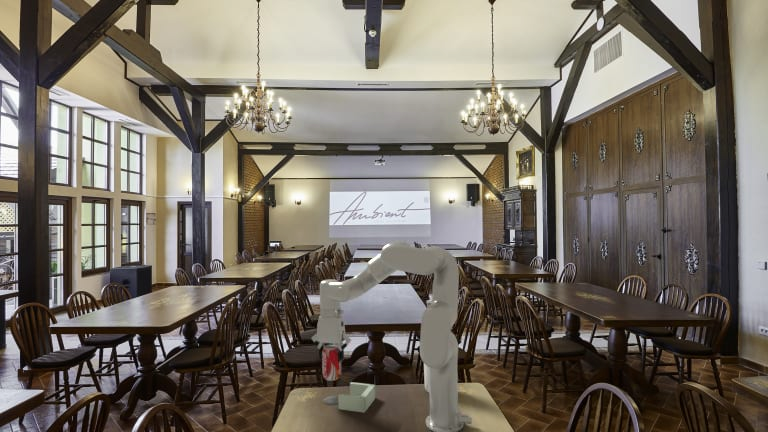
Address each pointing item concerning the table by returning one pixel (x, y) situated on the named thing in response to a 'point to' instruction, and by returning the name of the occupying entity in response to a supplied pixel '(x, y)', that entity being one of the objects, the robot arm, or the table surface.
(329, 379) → the soda can
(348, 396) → the collar
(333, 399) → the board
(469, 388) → the table surface
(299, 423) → the table surface
